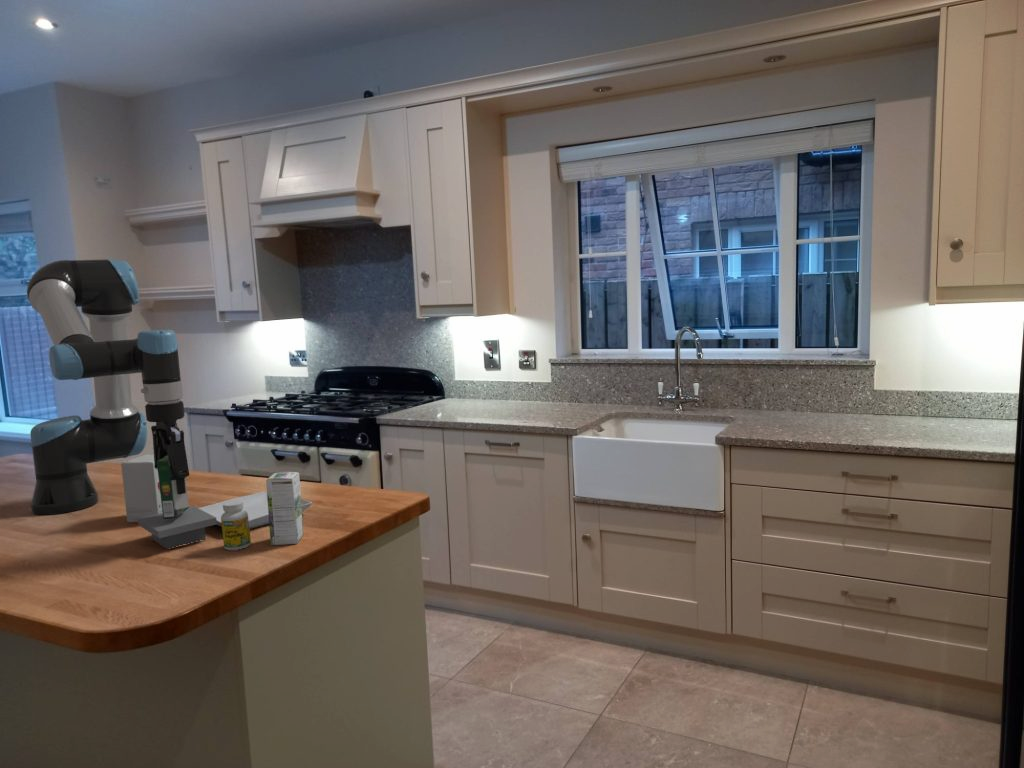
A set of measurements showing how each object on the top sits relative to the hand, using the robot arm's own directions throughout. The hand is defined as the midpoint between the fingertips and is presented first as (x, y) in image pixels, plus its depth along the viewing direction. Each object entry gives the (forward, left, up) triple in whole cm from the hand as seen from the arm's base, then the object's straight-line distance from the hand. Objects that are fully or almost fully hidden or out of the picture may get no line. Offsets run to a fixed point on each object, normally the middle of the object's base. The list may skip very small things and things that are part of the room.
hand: (175, 504), depth 161 cm
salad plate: (-3, +18, -9) cm, 20 cm away
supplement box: (-23, +2, -8) cm, 24 cm away
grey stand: (0, 0, -8) cm, 8 cm away
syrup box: (+20, +16, -8) cm, 27 cm away
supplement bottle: (+15, +7, -8) cm, 19 cm away
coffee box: (0, 0, -2) cm, 2 cm away
